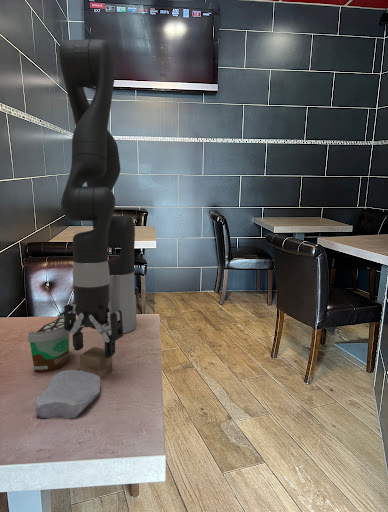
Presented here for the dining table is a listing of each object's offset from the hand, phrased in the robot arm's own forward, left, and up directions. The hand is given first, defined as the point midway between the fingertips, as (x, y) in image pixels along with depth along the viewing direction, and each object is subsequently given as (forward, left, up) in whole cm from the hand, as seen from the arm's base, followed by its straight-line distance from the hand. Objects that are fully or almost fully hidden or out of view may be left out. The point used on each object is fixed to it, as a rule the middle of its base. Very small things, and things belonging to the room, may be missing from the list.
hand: (93, 352), depth 80 cm
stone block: (+10, +3, -6) cm, 12 cm away
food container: (0, -11, -5) cm, 12 cm away
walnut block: (-1, 0, -5) cm, 5 cm away
